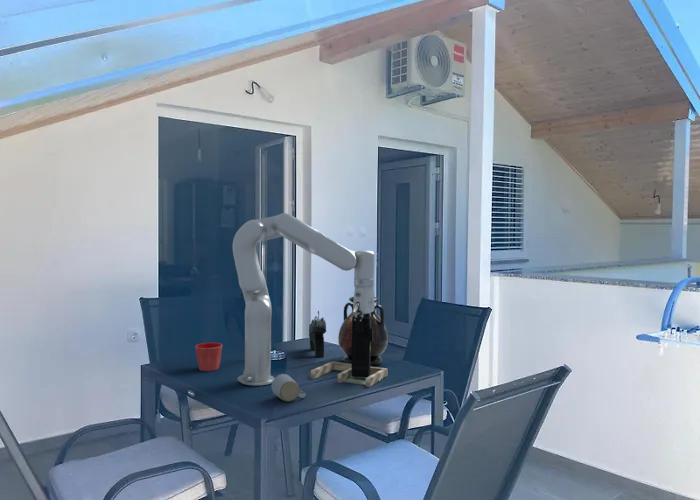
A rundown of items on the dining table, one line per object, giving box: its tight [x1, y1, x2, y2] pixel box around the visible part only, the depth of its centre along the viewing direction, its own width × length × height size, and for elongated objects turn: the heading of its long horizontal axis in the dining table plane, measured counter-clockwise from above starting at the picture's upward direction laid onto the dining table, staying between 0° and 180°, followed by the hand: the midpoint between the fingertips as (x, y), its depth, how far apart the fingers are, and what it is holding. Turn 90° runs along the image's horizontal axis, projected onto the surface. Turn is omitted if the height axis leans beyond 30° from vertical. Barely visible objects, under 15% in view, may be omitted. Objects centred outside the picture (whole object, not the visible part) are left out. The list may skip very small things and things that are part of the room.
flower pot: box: [194, 342, 223, 372], centre depth 229 cm, size 11×11×10 cm
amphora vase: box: [337, 296, 389, 367], centre depth 245 cm, size 22×22×28 cm
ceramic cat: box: [308, 310, 327, 358], centre depth 261 cm, size 20×6×20 cm, turn 13°
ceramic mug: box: [271, 373, 306, 402], centre depth 191 cm, size 11×8×8 cm
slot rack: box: [310, 361, 389, 388], centre depth 221 cm, size 18×24×3 cm
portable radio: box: [351, 315, 373, 378], centre depth 217 cm, size 8×6×25 cm
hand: (362, 329), depth 217 cm, fingers closed on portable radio, 6 cm apart
